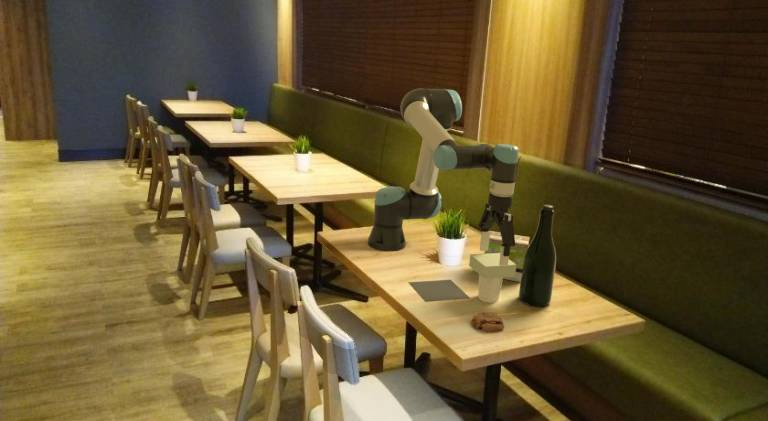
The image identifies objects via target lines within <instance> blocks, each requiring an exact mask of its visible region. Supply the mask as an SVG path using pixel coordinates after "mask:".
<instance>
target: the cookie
mask: <svg viewBox="0 0 768 421" xmlns="http://www.w3.org/2000/svg"><path fill="white" fill-rule="evenodd" d="M470 322H471V325H472V326H473V327H474V328H475V329H476V330H478V331H479V330H480V331H482V332H485V333H498V332H502V331H503V330H504V329H505V324H504V321H503V319H502V317H501V316H500V315H499V314H497V313H493V312H487V311H485V312H478V313H477V315H476V316H475V315H474V316H473V318H471V320H470Z"/></svg>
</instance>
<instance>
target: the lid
mask: <svg viewBox="0 0 768 421" xmlns="http://www.w3.org/2000/svg"><path fill="white" fill-rule="evenodd" d="M499 261H500V253H489V254H484V253H475V254H470V256H469V262H468V263H469V264H468V266H469V267H470V268H471V269H472V270H473V271H475V272H476V273H477V274H478V276H479V275H481V276H482V277H483V278H499V277H515V273H516V264H515V263H513V262H512V261H511V260H508V265H502V266H500V265H499Z"/></svg>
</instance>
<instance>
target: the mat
mask: <svg viewBox="0 0 768 421" xmlns="http://www.w3.org/2000/svg"><path fill="white" fill-rule="evenodd" d="M407 284H408V285H410V287H412V289H413V290H414V291H415V292H416V293H417V294H418V296H420V298H421V299H422V300H423V301H424V302H425V303H428V302H440V301H441V302H443V301H452V300H453V301H454V300H455V301H457V300H465V299H466V300H467V299H471V297H470V296H469V295H468V294H467V293H465V291H464V290H463V289H461V288H460V287H459V285H457V284H456V283H455V282H454V281H453V280H452V279H441V280H438V279H437V280H424V281H423V280H422V281H411V282H410V281H409V282H407Z"/></svg>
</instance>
